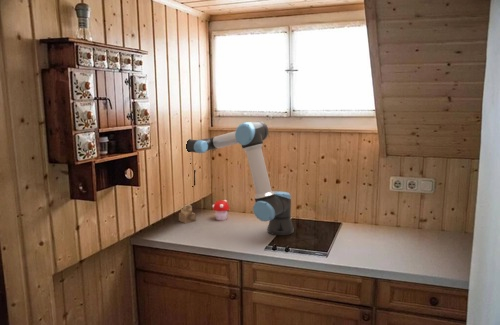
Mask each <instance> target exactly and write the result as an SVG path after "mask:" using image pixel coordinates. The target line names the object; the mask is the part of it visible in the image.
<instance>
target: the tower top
mask: <svg viewBox="0 0 500 325" xmlns="http://www.w3.org/2000/svg"><path fill="white" fill-rule="evenodd" d="M192 212H193V206H192V205H191V204H189V205H188V206H186V207H184V208H183V209H181V208H180V213H182V214H184V215H188V214H192Z"/></svg>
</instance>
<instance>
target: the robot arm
mask: <svg viewBox="0 0 500 325" xmlns="http://www.w3.org/2000/svg"><path fill="white" fill-rule="evenodd" d="M269 130H270V129H269V126H268V124H266V123H265V122H263V121H261V120H260V121H259V120H258V121H257V120H256V121H247V122H242V123H241V124H239V125H238V126H237V127H236V129H235V131H232V132H228V133H227V132H226V133H224V134H219V135H216V136H212V137H208V138H202V139H201V138H200V139H192V138H191V139H189V140H188V141H187V144H186V149H187V151H188V152H191V153H195V154H205V153H206V152H209V151H214V150H218V149H222V148H225V147H230V146H234V145H240V146H241V149H242V150H243V151H244V152H245V153H246V157H247V162H248V165H249V170H250V173H251V177H252V182H253V187H254V189H255V196H254V205H253V208H252V210H253V214H254V216H255V217H256V218H257V219H258V220H259V221H261V222H268V221H269V222H268V224H267V227H266V230H267V233H268V234H271V235H273V236H288V235H292V234H293V233H294V230H295V229H294V228H295V227H294V224H293V221H292V218H291V217H292V195H291V193H289V192H288V191H287V192H286V191H273V190H272V185H271V183H270V178H269V174H268V170H267V166H266V161H265V158H264V153H263V149H262V147H263V145H264V141H265V140H266V139H267V138H268V136H269V133H270V132H269ZM190 157H191V158H190V160H192V155H191V156H190ZM190 164H191V165H192V162H191V163H190ZM193 170H194V186H192V187H193V188H194V187H195V186H196V171H197V170H196V169H193Z"/></svg>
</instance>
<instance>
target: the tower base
mask: <svg viewBox="0 0 500 325" xmlns="http://www.w3.org/2000/svg"><path fill="white" fill-rule="evenodd" d="M178 221H179V222H181V223H184V224H188V223H192V222H196V213H195V212H193V211H192V214H188V215H184V214H182V213H181V212H178Z"/></svg>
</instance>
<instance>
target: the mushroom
mask: <svg viewBox="0 0 500 325" xmlns="http://www.w3.org/2000/svg"><path fill="white" fill-rule="evenodd" d="M211 207H212V210H213V211H214V212H215V213H214V214H215V215H214V216H215V219H216V220H217V221H226V220H228V210H230V206H229V204H228V200H226V199H224V200H217V201H216V202H214V204H212V205H211Z"/></svg>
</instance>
